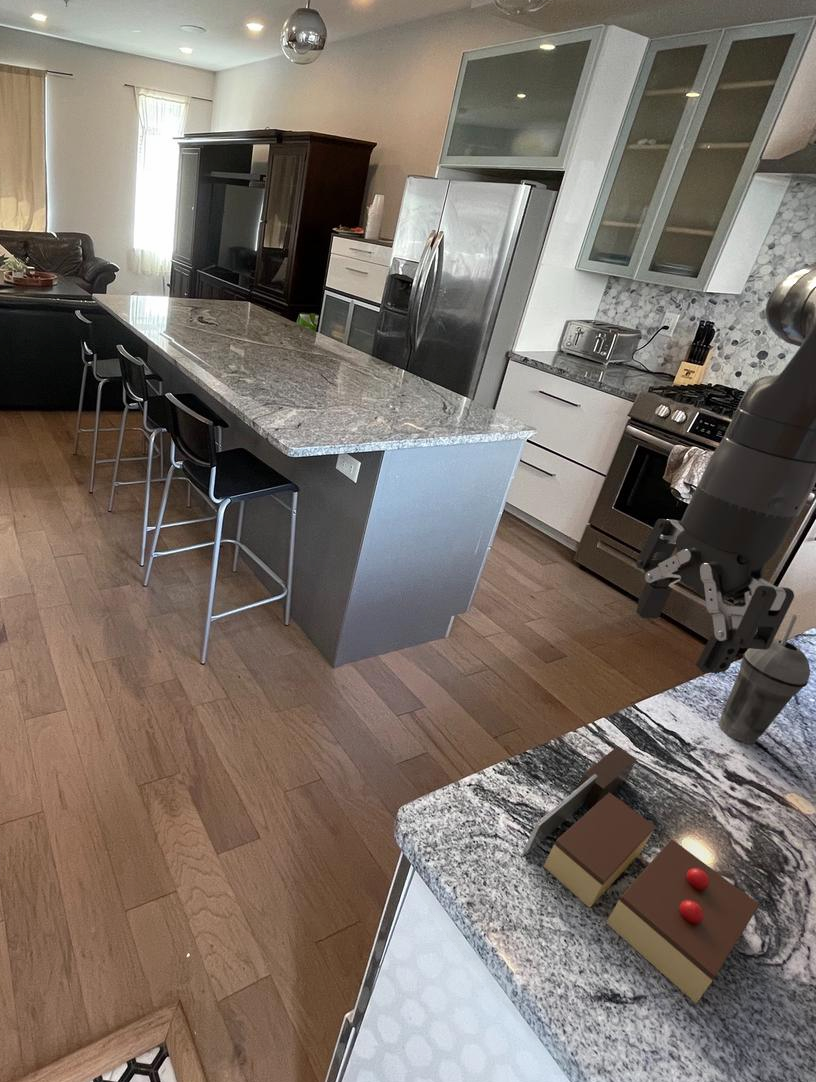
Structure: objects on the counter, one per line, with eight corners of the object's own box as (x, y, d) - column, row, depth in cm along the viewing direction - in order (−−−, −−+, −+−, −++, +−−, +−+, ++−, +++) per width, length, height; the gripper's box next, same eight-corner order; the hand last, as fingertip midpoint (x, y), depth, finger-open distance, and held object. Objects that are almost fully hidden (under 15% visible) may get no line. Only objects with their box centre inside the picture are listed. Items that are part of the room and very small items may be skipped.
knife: (607, 765, 81) (620, 739, 79) (626, 779, 79) (640, 752, 77) (514, 844, 68) (527, 815, 66) (534, 863, 66) (548, 833, 64)
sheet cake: (656, 863, 68) (677, 828, 66) (741, 930, 62) (766, 894, 60) (605, 922, 61) (627, 885, 59) (695, 1004, 55) (723, 965, 53)
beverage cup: (779, 757, 87) (854, 639, 79) (723, 744, 88) (792, 627, 80) (749, 720, 94) (815, 608, 86) (697, 708, 94) (759, 596, 87)
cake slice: (596, 816, 73) (609, 791, 71) (641, 851, 69) (655, 826, 68) (543, 866, 66) (555, 840, 64) (589, 908, 62) (604, 881, 61)
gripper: (862, 536, 50) (768, 694, 56) (723, 468, 63) (659, 603, 69) (780, 528, 49) (693, 689, 56) (656, 460, 62) (597, 598, 69)
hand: (674, 641), depth 62 cm, fingers open, 8 cm apart
